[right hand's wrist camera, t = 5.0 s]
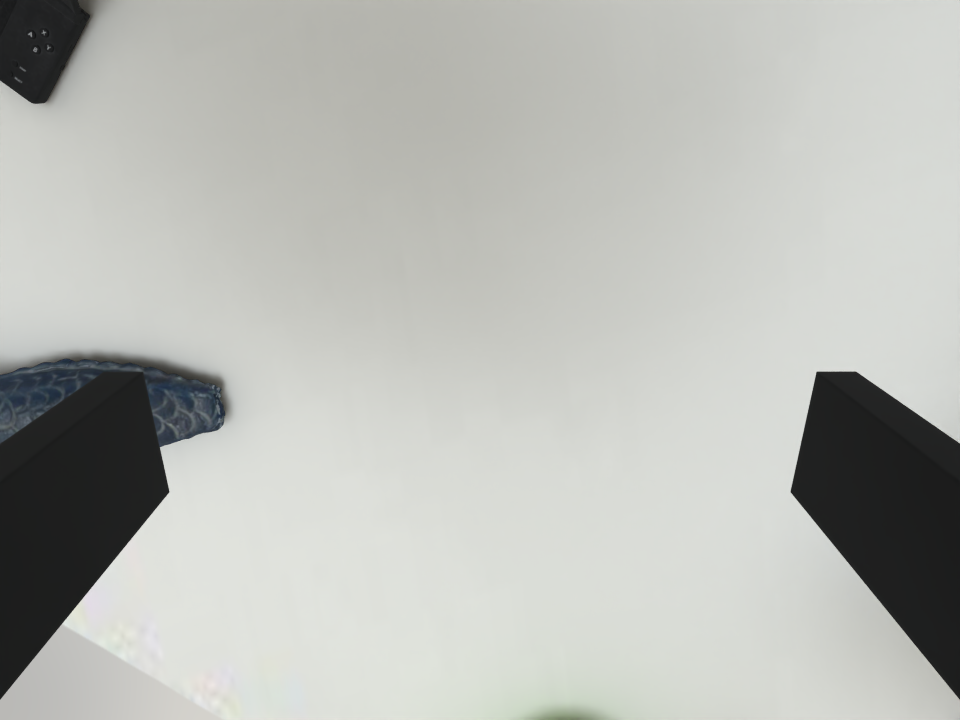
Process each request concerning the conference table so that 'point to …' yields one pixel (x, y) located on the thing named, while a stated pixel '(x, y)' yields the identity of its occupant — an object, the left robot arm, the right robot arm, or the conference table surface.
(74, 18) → the handheld gaming console
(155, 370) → the fish model
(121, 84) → the conference table surface
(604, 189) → the conference table surface
